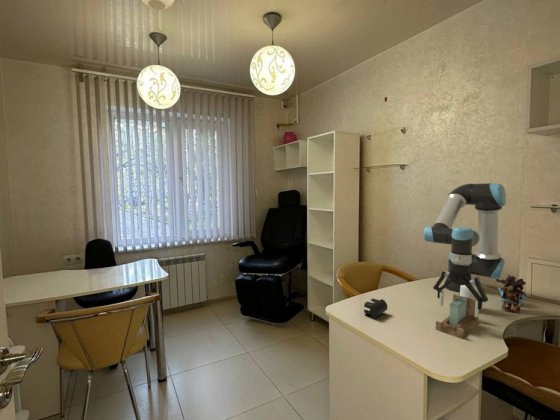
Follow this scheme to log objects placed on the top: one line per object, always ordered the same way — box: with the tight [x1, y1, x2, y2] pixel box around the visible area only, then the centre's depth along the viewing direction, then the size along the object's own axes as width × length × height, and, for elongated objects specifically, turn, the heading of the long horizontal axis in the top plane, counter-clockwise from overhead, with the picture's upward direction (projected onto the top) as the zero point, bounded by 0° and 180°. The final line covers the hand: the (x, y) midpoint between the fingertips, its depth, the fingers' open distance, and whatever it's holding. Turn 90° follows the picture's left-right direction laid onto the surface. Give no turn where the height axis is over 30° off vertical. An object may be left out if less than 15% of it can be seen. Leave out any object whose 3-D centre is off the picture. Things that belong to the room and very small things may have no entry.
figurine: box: [495, 274, 527, 314], centre depth 137 cm, size 11×9×18 cm
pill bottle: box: [459, 280, 480, 300], centre depth 139 cm, size 8×8×15 cm
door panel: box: [449, 297, 467, 326], centre depth 122 cm, size 3×12×10 cm, turn 131°
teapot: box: [497, 287, 526, 306], centre depth 147 cm, size 12×6×8 cm, turn 35°
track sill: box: [435, 294, 479, 340], centre depth 122 cm, size 10×22×10 cm, turn 131°
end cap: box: [363, 298, 389, 319], centre depth 132 cm, size 10×7×7 cm
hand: (458, 310), depth 121 cm, fingers open, 13 cm apart
